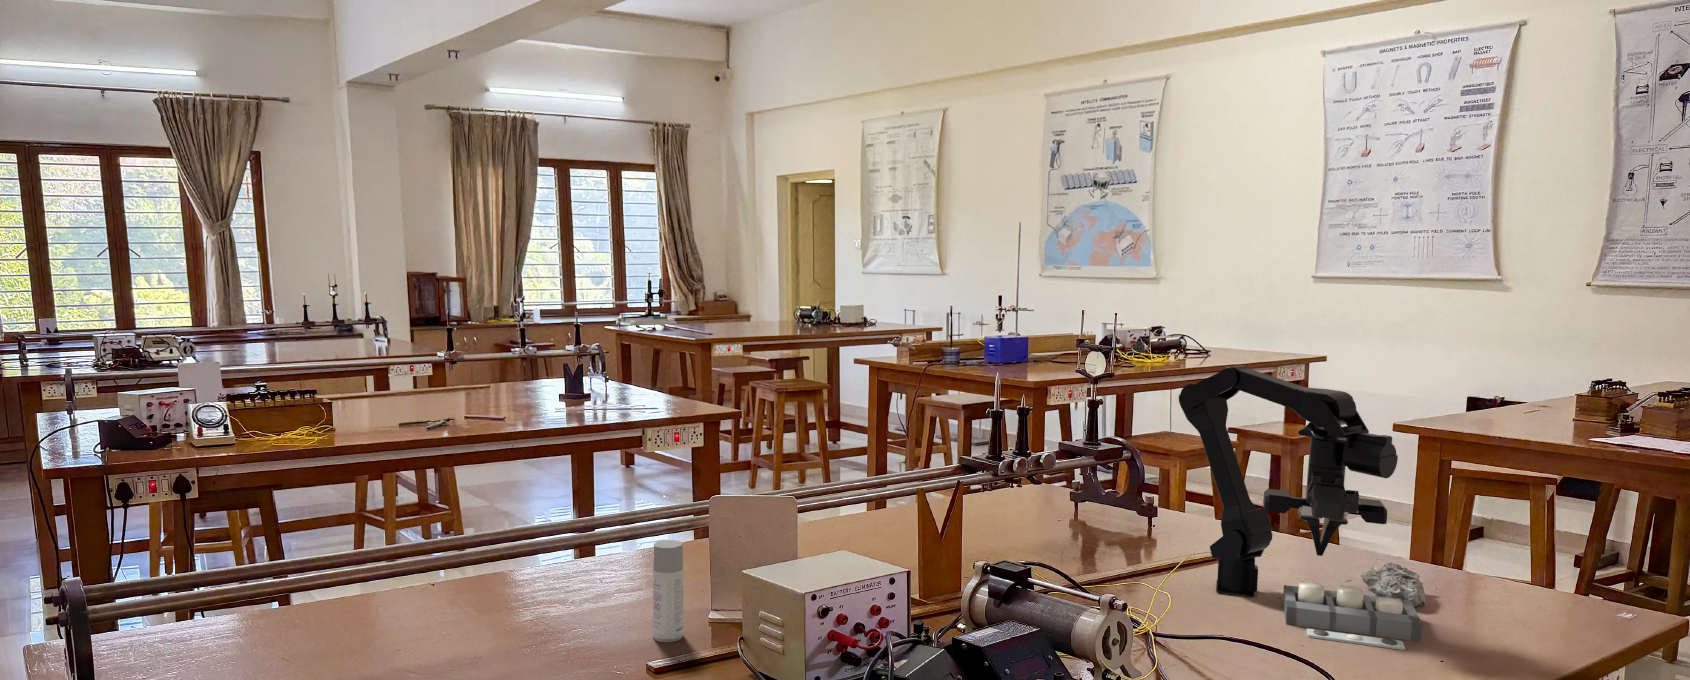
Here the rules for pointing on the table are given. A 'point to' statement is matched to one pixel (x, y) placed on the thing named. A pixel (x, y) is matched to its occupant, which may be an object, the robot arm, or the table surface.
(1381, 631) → the button board
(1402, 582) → the mineral specimen
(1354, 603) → the button middle
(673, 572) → the container
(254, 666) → the table surface
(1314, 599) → the button left
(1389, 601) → the button right
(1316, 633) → the card
